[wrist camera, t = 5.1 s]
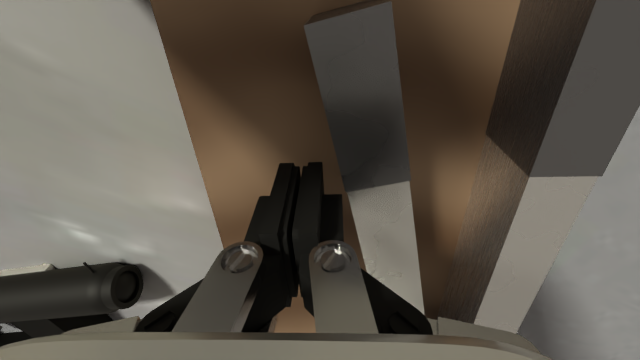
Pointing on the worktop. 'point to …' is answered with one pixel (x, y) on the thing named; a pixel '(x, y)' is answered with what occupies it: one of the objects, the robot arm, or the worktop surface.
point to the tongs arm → (369, 135)
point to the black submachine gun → (64, 297)
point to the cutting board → (310, 118)
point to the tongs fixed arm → (543, 151)
